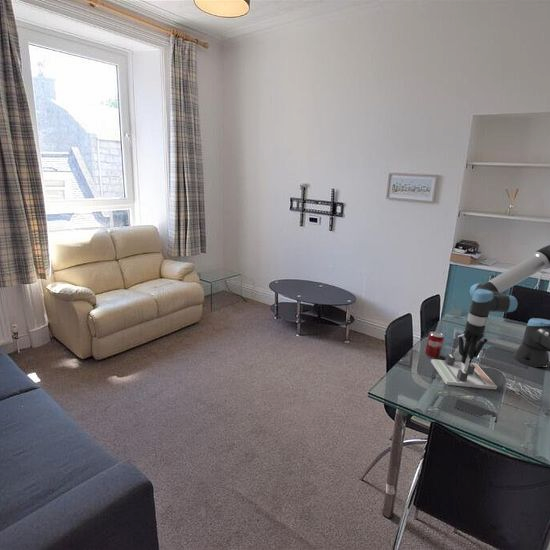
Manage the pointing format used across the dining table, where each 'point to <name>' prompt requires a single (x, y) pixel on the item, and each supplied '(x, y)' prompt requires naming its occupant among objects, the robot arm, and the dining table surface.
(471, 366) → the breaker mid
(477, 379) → the panel
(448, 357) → the block
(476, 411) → the smartphone
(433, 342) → the soda can
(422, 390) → the dining table surface
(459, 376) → the block
